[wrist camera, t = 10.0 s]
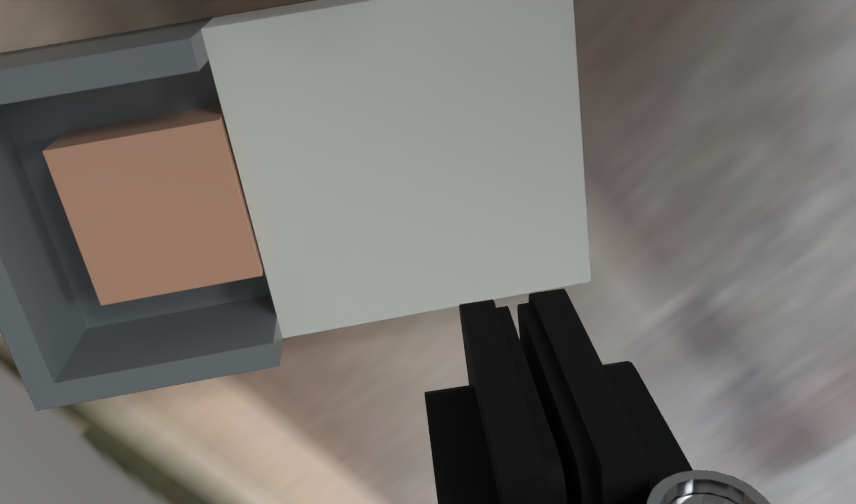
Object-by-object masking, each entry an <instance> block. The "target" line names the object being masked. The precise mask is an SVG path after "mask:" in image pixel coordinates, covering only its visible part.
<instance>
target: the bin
mask: <svg viewBox="0 0 856 504" xmlns="http://www.w3.org/2000/svg"><path fill="white" fill-rule="evenodd" d="M212 19H213V18H208V19H202V20H196V21H190V22H184V23H178V24H172V25H166V26H160V27H154V28H148V29H142V30H136V31H130V32H124V33H118V34H112V35H106V36H100V37H94V38H88V39H82V40H76V41H70V42H64V43H58V44H52V45H46V46H40V47H34V48H28V49H22V50H16V51H10V52H4V53H0V331H1V333H2V335H3V337H4V340H5V342H6V344H7V346H8V349H9V351H10V353H11V355H12V358H13V360H14V362H15V364H16V367H17V369H18V371H19V373H20V376H21V378H22V380H23V382H24V385H25V387H26V389H27V391H28V394H29V396H30V398H31V400H32V403H33V405H34V407H35V409H36V411H39V410H44V409H49V408H55V407H60V406H66V405H71V404H76V403H82V402H87V401H93V400H98V399H103V398H109V397H114V396H119V395H125V394H130V393H136V392H141V391H146V390H152V389H157V388H162V387H168V386H173V385H179V384H184V383H189V382H195V381H200V380H206V379H211V378H216V377H222V376H227V375H232V374H238V373H243V372H249V371H254V370H259V369H265V368H270V367H276V366H279V365H280V357H281V349H282V340H283V337H282V334H281V330H280V326H279V322H278V319H277V315H276V311H275V307H274V304H273V300H272V296H271V292H270V288H269V285H268V281H267V277H266V273H265V270H264V268H263V273H262V276H258V277H253V278H248V279H242V280H237V281H231V282H226V283H220V284H215V285H210V286H204V287H199V288H193V289H188V290H183V291H177V292H172V293H166V294H161V295H156V296H150V297H145V298H139V299H134V300H128V301H123V302H118V303H112V304H107V305H101V304H100V302H99V299H98V296H97V294H96V291H95V288H94V286H93V283H92V280H91V278H90V275H89V273H88V270H87V267H86V265H85V262H84V259H83V257H82V254H81V251H80V249H79V246H78V244H77V241H76V238H75V236H74V233H73V230H72V228H71V225H70V223H69V220H68V217H67V215H66V212H65V209H64V207H63V204H62V201H61V199H60V196H59V194H58V191H57V188H56V186H55V183H54V180H53V178H52V175H51V172H50V170H49V167H48V165H47V162H46V159H45V157H44V154H43V150H44V149H46V148H47V147H48V146H49V145H50V144H52V143H53V142H54V141H55V140H57V139H58V138H59V137H60V136H61V135H63V134H64V133H65V132H67V131H72V130H78V129H84V128H90V127H95V126H101V125H107V124H112V123H118V122H124V121H129V120H135V119H141V118H146V117H152V116H158V115H163V114H169V113H175V112H181V111H186V110H192V109H198V108H203V107H209V106H215V105H220V100H219V96H218V92H217V89H216V85H215V81H214V77H213V74H212V70H211V66H210V62H209V58H208V55H207V51H206V47H205V43H204V40H203V36H202V32H201V28H203V27H204V26H205V25H206V24H207V23H208V22H209V21H210V20H212Z"/></svg>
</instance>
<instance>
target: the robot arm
mask: <svg viewBox="0 0 856 504" xmlns="http://www.w3.org/2000/svg"><path fill="white" fill-rule="evenodd" d="M459 308H460V318H461V325H462V333H463V341H464V349H465V356H466V364H467V372H468V380H469V385H468V386H462V387H455V388H449V389H442V390H436V391H429V392H425V401H426V409H427V417H428V426H429V434H430V442H431V450H432V458H433V466H434V475H435V483H436V491H437V499H438V504H770V503H769V502H768V501H767V499H766V498H765V497H764V496H763V495H761V494H760V493H759V492H758V491H757V490H756V489H754V488H753V487H752V486H751V485H749V484H747V483H745V482H743V481H741V480H739V479H737V478H735V477H733V476H730V475H726V474H723V473H719V472H715V471H702V470H692V468H691V466H690V464H689V462H688V461H687V459H686V457H685V455H684V453H683V452H682V450H681V448H680V446H679V445H678V443H677V441H676V439H675V437H674V436H673V434H672V432H671V430H670V429H669V427H668V425H667V423H666V421H665V420H664V418H663V416H662V414H661V413H660V411H659V409H658V407H657V405H656V404H655V402H654V400H653V398H652V397H651V395H650V393H649V391H648V389H647V388H646V386H645V384H644V382H643V381H642V379H641V377H640V375H639V373H638V372H637V370H636V368H635V367H634V365H633V364H632V363H631V362H629V361H625V362H618V363H612V364H605V365H602V363H601V361H600V359H599V357H598V355H597V353H596V351H595V349H594V347H593V345H592V343H591V341H590V339H589V337H588V335H587V333H586V331H585V329H584V326H583V324H582V322H581V320H580V318H579V316H578V314H577V312H576V310H575V308H574V306H573V304H572V302H571V300H570V298H569V296H568V294H567V292H566V291H565V289H557V290H550V291H544V292H537V293H531V294H529V303H525V304H518V309H517V310H518V322H519V333H520V340H519V337H518V334H517V331H516V328H515V325H514V322H513V319H512V316H511V313H510V310H509V308H508V306H505V307H498V308H496V306H495V303H494V300H493V299H491V300H485V301H478V302H471V303H465V304H459Z"/></svg>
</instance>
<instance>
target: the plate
mask: <svg viewBox="0 0 856 504" xmlns="http://www.w3.org/2000/svg"><path fill="white" fill-rule="evenodd" d="M201 32H202V36H203V40H204V43H205V47H206V51H207V55H208V58H209V62H210V66H211V70H212V74H213V77H214V81H215V85H216V89H217V92H218V96H219V100H220V104H221V107H222V111H223V115H224V119H225V123H226V126H227V130H228V134H229V138H230V141H231V145H232V149H233V153H234V156H235V160H236V164H237V168H238V172H239V175H240V179H241V183H242V187H243V190H244V194H245V198H246V202H247V206H248V209H249V213H250V217H251V221H252V224H253V228H254V232H255V236H256V239H257V243H258V247H259V251H260V255H261V258H262V262H263V266H264V270H265V273H266V277H267V281H268V285H269V288H270V292H271V296H272V300H273V304H274V307H275V311H276V315H277V319H278V322H279V326H280V330H281V334H282V337H283V338H288V337H293V336H298V335H304V334H309V333H315V332H320V331H326V330H331V329H336V328H342V327H347V326H353V325H358V324H364V323H369V322H374V321H380V320H385V319H391V318H396V317H402V316H407V315H412V314H418V313H423V312H429V311H434V310H439V309H445V308H450V307H456V306H459V304H465V303H471V302H478V301H485V300H491V299H493V300H494V299H499V298H505V297H510V296H515V295H521V294H526V293H532V292H537V291H543V290H548V289H553V288H559V287H564V286H570V285H575V284H581V283H586V282H591V273H590V257H589V242H588V226H587V210H586V194H585V179H584V163H583V147H582V132H581V116H580V100H579V85H578V69H577V53H576V38H575V22H574V6H573V0H316V1H310V2H304V3H298V4H292V5H286V6H280V7H274V8H268V9H262V10H256V11H250V12H244V13H238V14H232V15H226V16H220V17H214V18H213V19H212V20H210V21H209V22H208V23H207V24H206V25H205V26H204V27H203V28H201Z"/></svg>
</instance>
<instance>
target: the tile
mask: <svg viewBox="0 0 856 504" xmlns="http://www.w3.org/2000/svg"><path fill="white" fill-rule="evenodd" d="M43 154H44V157H45V159H46V162H47V165H48V167H49V170H50V172H51V175H52V178H53V180H54V183H55V186H56V188H57V191H58V194H59V196H60V199H61V201H62V204H63V207H64V209H65V212H66V215H67V217H68V220H69V223H70V225H71V228H72V230H73V233H74V236H75V238H76V241H77V244H78V246H79V249H80V251H81V254H82V257H83V259H84V262H85V265H86V267H87V270H88V273H89V275H90V278H91V280H92V283H93V286H94V288H95V291H96V294H97V296H98V299H99V302H100V304H101V305H107V304H112V303H118V302H123V301H128V300H134V299H139V298H145V297H150V296H156V295H161V294H166V293H172V292H177V291H183V290H188V289H193V288H199V287H204V286H210V285H215V284H220V283H226V282H231V281H237V280H242V279H248V278H253V277H258V276H262V273H263V268H264V266H263V262H262V258H261V255H260V251H259V247H258V243H257V239H256V236H255V232H254V228H253V224H252V221H251V217H250V213H249V209H248V206H247V202H246V198H245V194H244V190H243V187H242V183H241V179H240V175H239V172H238V168H237V164H236V160H235V156H234V153H233V149H232V145H231V141H230V138H229V134H228V130H227V126H226V123H225V119H224V115H223V111H222V107H221V104H220V105H215V106H209V107H203V108H198V109H192V110H186V111H181V112H175V113H169V114H163V115H158V116H152V117H146V118H141V119H135V120H129V121H124V122H118V123H112V124H107V125H101V126H95V127H90V128H84V129H78V130H72V131H67V132H65V133H64V134H63V135H61V136H60V137H59V138H58V139H57V140H55V141H54V142H53V143H52V144H50V145H49V146H48V147H47V148H46V149H44V150H43Z"/></svg>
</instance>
